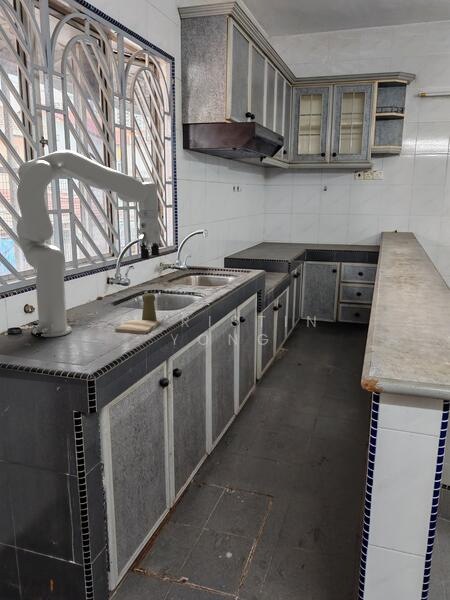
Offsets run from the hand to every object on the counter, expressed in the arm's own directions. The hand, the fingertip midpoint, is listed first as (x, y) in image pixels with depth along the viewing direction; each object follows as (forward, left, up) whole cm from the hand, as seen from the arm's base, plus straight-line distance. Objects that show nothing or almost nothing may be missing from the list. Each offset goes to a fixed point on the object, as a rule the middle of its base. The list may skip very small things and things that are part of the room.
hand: (150, 257), depth 198 cm
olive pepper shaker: (-8, -2, -25) cm, 26 cm away
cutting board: (-19, -2, -24) cm, 31 cm away
